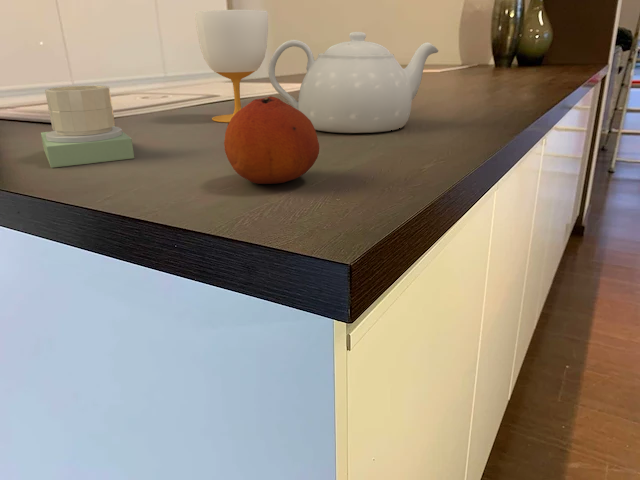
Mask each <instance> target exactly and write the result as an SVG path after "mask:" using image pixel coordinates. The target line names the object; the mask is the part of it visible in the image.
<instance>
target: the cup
mask: <svg viewBox="0 0 640 480" xmlns="http://www.w3.org/2000/svg"><path fill="white" fill-rule="evenodd" d="M194 19H195V26H196V27H195V28H196V32H197V38H198V43H199V47H200V50H201V53H202V57H203V59H204V61H205V62H206V64H207V65H208V67H209V69H211V70H212V71H213V72H214V73H216V74H218V75H220V76H222V77H223V78H226V79H228V80H230V81H231V83H232V89H233V95H234V96H233V98H234V109H233V113H228V114H221V115H216V116H213V117H212V118H211V120H212V121H213V122H216V123H226V124H229V122H230V120H231V118H232V117H233V116H234V115H235V114H236V113H237V112H238V111H239V110H241V109H242V102H241V81H242V80H243V79H245V78H246V77H248V76H250V75H252V74H254V73H255V72H256V71H258V70H259V69H260V67H261V65H262V64H263V62H264V60H265V58H266V52H267V48H268V34H269V11H268V10H264V9H263V10H262V9H209V10H198V11H197V10H196V11H194Z"/></svg>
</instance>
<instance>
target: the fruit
mask: <svg viewBox="0 0 640 480" xmlns="http://www.w3.org/2000/svg"><path fill="white" fill-rule="evenodd" d="M318 139H319V137H318V134H317V130H315V128H314V126H313V124H312V122H311V121H310V120H309V119H308V118H307V116H305V115H304V114H303V113H302V112H301V111H299V110H298V109H296V108H294V107H292V105H291V104H289V103H287V102H284V101H283V100H281V99H280V98H278V97H275V96H272V95H270V96H267V97H262V98H256V99H253V100H251V101H250V102H249V103H247V104H246V105H245V106H243V107H241V110H239V111H238V112H237V113H236V114H235V115H234V116H233V117H232V118H231V120H230V122H229V123H227V126H226V129H225V132H224V140H223V142H224V143H223V145H224V152H225V156H226V158H227V160H228V162H229V163H230V166H231V167H232V169H233V170H234V172H236V174H238V176H240V177H242V178H244V179H245V180H247V181H249V182H250V183H253V184H256V185H257V184H258V185H271V184H274V185H275V184H285V183H287V182H290V181H293V180H296V179H298V178H300V177H301V176H303V175H304V174H305V173H307V172H308V171H309V170H310V169H311V168H312V167H313V166H314V164H315V163H316V161H317V159H318V158H319V157H318V156H319V154H320V142H319V140H318Z"/></svg>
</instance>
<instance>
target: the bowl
mask: <svg viewBox="0 0 640 480" xmlns="http://www.w3.org/2000/svg"><path fill="white" fill-rule="evenodd" d="M44 93H45V97H46V103H47V109H48V113H49V118H50V119H49V120H50V123H51V129H52V131H56V132H57V134H58V135H64V136H82V135H94V134H101V133H106V132H109V131H111V130H113V128H112V127H113V126H115V125H116V122H115V115H114V108H113V102H112V101H113V100H112V96H111V89H110V86H109V85H99V84H98V85H94V84H93V85H87V84H86V85H70V86H69V85H68V86H67V85H66V86H57V87H50V88H49V87H48V88H46V89H44Z"/></svg>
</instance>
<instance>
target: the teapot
mask: <svg viewBox="0 0 640 480" xmlns="http://www.w3.org/2000/svg"><path fill="white" fill-rule="evenodd" d="M348 36H349V39H350V40H349V41H342V42H339V43H336V44H333V45H331V46H330V47H328V48H327V49H326V50H325V51H324V52H322V53H321V52H320V53H319V52H318V55H317V58H316V59H315V57H314V54H313V51H312V49H311V47H310V46H309V45H308V44H307V43H305V42H303V41H302V40H298V39H289V40H287V41H285V42H283V43H281V44H280V45H279V46H278V47H276V49H275V51H274V52H273V54H272V55H271V58H270V60H269V63H268V70H267V71H268V79H269V81H270V84H271V85H272V88H273V89H274V90H275V91H276V92H277V93H278V94H279V95H280V96H281V97H282V98H283V99H284V100H286V101H287V102H288V104H289V105H291V106H292V107H294V108H296V109H298V110H299V111H301V112H302V113H303V114H304V115H305V116H307V118H308V119H309V120H310V121H311V122H312V124H313V126H314V128H315V131H319V132H326V133H336V134H337V133H338V134H369V133H383V132H391V130H392V131H396V130H400V129H402V128H403V127H404V126H406V124H407V122H408V121H409V119H410V116H411V111H412V102H413V100H414V99H415V98H416V96H417V94H418V92H419V89H420V86H421V82H422V77H423V74H424V69H425V64H426V62H427V59H428V58H429V56H430V55H432V54H433V55H434V54H437V53H439V49H438V47H436V46H435V45H433V44H432V43H431V42H429V41H427V42H424V43H422V44H421V45H419V46H418V47H417V49H415V52H414V54H413V55H412V57H411V59H410V61H409V62H408V64H407V65H406V67H404V68H403V67H402V65H401V64H400V63H399V61H398V60H397V59H396V57H395V55H394V54H393V53H391V51H389V49H388V48H387V47H385V46H384V45H382V44H379V43H378V42H373V41H366V37H367V34H366V33H365V32H363V31H352V32H350V33H349V35H348ZM292 47H294V48H295V47H296V48H300V49H302V50H303V51H304V53H305V54H306V57H307V63H306V67H305V68H306V73H305V75H304V77H303V79H302V81H301V84H300V88H299V92H298V100H297V99H296V98H294V97H293V96H292V94H290V93H289V92H287V91H286V90H285V89H284V88H283V87H282V86H281V84H280V83H279V81H278V79H277V77H276V65H277V62H278V60H279V58H280V56H281V55H282V54H283V53H284V51H286V50H287V49H289V48H292ZM399 128H400V129H399Z"/></svg>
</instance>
